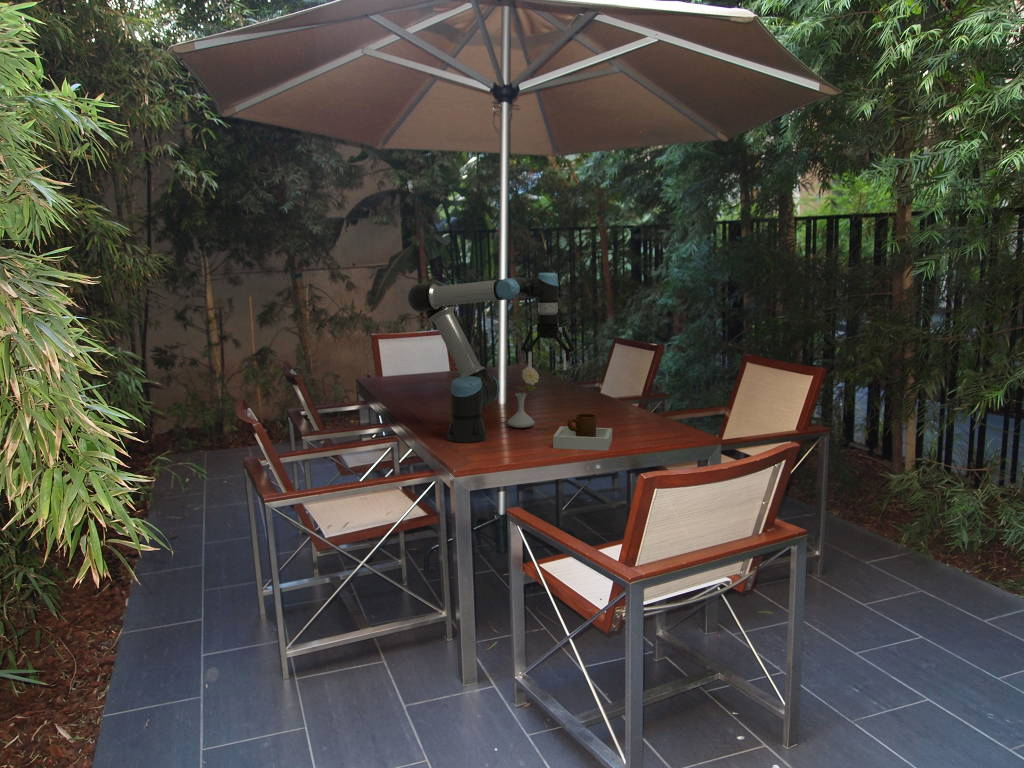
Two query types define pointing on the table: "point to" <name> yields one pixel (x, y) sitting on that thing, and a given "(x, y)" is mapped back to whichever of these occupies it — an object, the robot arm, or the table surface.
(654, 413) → the table surface
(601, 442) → the tray
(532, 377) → the flower in vase
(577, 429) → the mug
